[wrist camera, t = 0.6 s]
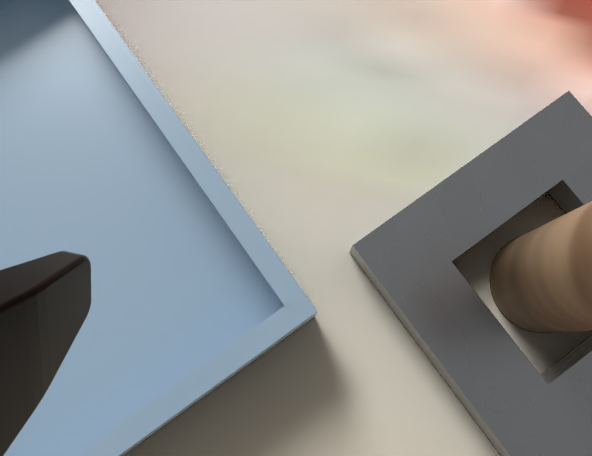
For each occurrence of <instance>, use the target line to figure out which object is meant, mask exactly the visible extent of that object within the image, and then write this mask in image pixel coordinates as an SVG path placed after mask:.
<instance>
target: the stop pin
mask: <svg viewBox="0 0 592 456" xmlns="http://www.w3.org/2000/svg"><path fill="white" fill-rule="evenodd" d="M489 282H490V289H491V294H492V296H493V299H494V301H495V303H496V305H497V307H498V308H499V310H500V311H501V312H502V314H503V315H504V316H505V317H506V318H507V319H508V320H510V321H511V322H512V323H514V324H515V325H517V326H519V327H521V328H523V329H525V330H528V331H532V332H538V333H552V332H573V331H592V201H591V202H589V203H587V204H585V205H583V206H581V207H579V208H577V209H575V210H573V211H571V212H569V213H567V214H565V215H563V216H560V217H558V218H556V219H554V220H552V221H550V222H548V223H546V224H544V225H542V226H540V227H538V228H536V229H534V230H532V231H530V232H528V233H526V234H524V235H522V236H520V237H517V238H515V239H513V240H512V241H510V242H508V243H507V244H506V245H505V246H503V247H502V248H501V250H500V251H499V252H498V253H497V255H496V256H495V258H494V260H493V263H492V266H491V269H490V278H489Z"/></svg>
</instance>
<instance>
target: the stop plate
mask: <svg viewBox="0 0 592 456" xmlns="http://www.w3.org/2000/svg"><path fill="white" fill-rule="evenodd" d="M546 191H547V192H548V193H549V194H550V195H551V196H552V198H553V199H554V200H555V201H556V202H557V204H558V205H559V206H560V207H561V208H562V210H563V211H564V212H565V213H566V214H567V213H569V212H571V211H573V210H575V209H577V208H579V207H581V206H583V205H585V204H587V203H589V202H591V201H592V116H591V115H590V114H589V113H588V112H587V111H586V110H585V109H584V107H583V106H582V105H581V104H580V103H579V102H578V101H577V99H576V98H575V97H574V96H573V95H572V94H571V93H570V92H569V91H568V92H567V93H565V94H564V95H562V96H561V97H560V98H558V99H557V100H555V101H554V102H553V103H551V104H550V105H548V106H547V107H546V108H544V109H543V110H541V111H540V112H539V113H537V114H536V115H534V116H533V117H532V118H530V119H529V120H527V121H526V122H525V123H523V124H522V125H520V126H519V127H518V128H516V129H515V130H513V131H512V132H511V133H509V134H508V135H506V136H505V137H504V138H502V139H501V140H499V141H498V142H497V143H495V144H494V145H492V146H491V147H490V148H488V149H487V150H486V151H484V152H483V153H481V154H480V155H479V156H477V157H476V158H474V159H473V160H472V161H470V162H469V163H467V164H466V165H465V166H463V167H462V168H460V169H459V170H458V171H456V172H455V173H453V174H452V175H451V176H449V177H448V178H446V179H445V180H444V181H442V182H441V183H439V184H438V185H437V186H435V187H434V188H432V189H431V190H430V191H428V192H427V193H425V194H424V195H423V196H421V197H420V198H418V199H417V200H416V201H414V202H413V203H411V204H410V205H409V206H407V207H406V208H404V209H403V210H402V211H400V212H399V213H397V214H396V215H395V216H393V217H392V218H390V219H389V220H388V221H386V222H385V223H383V224H382V225H381V226H379V227H378V228H376V229H375V230H374V231H372V232H371V233H369V234H368V235H367V236H365V237H364V238H362V239H361V240H360V241H358V242H357V243H355V244H354V245H353V246H352V248H351V250H350V251H349V252H350V254H351V255H352V256H353V258H354V259H355V260H356V262H357V263H358V264H359V266H360V267H361V268H362V270H363V271H364V272H365V274H366V275H367V276H368V278H369V279H370V280H371V282H372V283H373V284H374V286H375V287H376V288H377V290H378V291H379V292H380V294H381V295H382V297H383V298H384V299H385V301H386V302H387V303H388V305H389V306H390V307H391V309H392V310H393V311H394V313H395V314H396V315H397V317H398V318H399V319H400V321H401V322H402V323H403V325H404V326H405V327H406V329H407V330H408V331H409V333H410V334H411V335H412V337H413V338H414V339H415V341H416V342H417V344H418V345H419V346H420V348H421V349H422V350H423V352H424V353H425V354H426V356H427V357H428V358H429V360H430V361H431V362H432V364H433V365H434V366H435V368H436V369H437V370H438V372H439V373H440V374H441V376H442V377H443V378H444V380H445V381H446V382H447V384H448V385H449V386H450V388H451V389H452V391H453V392H454V393H455V395H456V396H457V397H458V399H459V400H460V401H461V403H462V404H463V405H464V407H465V408H466V409H467V411H468V412H469V413H470V415H471V416H472V417H473V419H474V420H475V421H476V423H477V424H478V425H479V427H480V428H481V429H482V431H483V432H484V433H485V435H486V436H487V438H488V439H489V440H490V442H491V443H492V444H493V446H494V447H495V448H496V450H497V451H498V452H499V454H500V455H501V456H590V455H591V454H592V335H591V336H590V337H588V338H587V339H586V340H585V341H583V342H582V343H581V344H580V345H578V346H577V347H576V348H574V349H573V350H572V351H571V352H569V353H568V354H567V355H566V356H564V357H563V358H562V359H560V360H559V361H558V362H557V363H555V364H554V365H553V366H552V367H550V368H549V369H548V370H546V371H545V372H544V373H543V374H541V375H540V374H539V373H538V371H537V370H536V369H535V368H534V366H533V365H532V364H531V363H530V361H529V360H528V359H527V357H526V356H525V355H524V354H523V352H522V351H521V350H520V348H519V347H518V346H517V345H516V343H515V342H514V341H513V339H512V338H511V337H510V336H509V334H508V333H507V332H506V331H505V329H504V328H503V327H502V325H501V324H500V323H499V322H498V320H497V319H496V318H495V316H494V315H493V314H492V313H491V311H490V310H489V309H488V307H487V306H486V305H485V304H484V302H483V301H482V300H481V299H480V297H479V296H478V295H477V293H476V292H475V291H474V290H473V288H472V287H471V286H470V284H469V283H468V282H467V281H466V279H465V278H464V277H463V275H462V274H461V273H460V272H459V270H458V269H457V268H456V267H455V265H454V264H453V263H452V261H453V260H454V259H456V258H457V257H458V256H460V255H461V254H463V253H464V252H465V251H467V250H468V249H469V248H471V247H472V246H473V245H475V244H476V243H477V242H479V241H480V240H481V239H483V238H484V237H486V236H487V235H488V234H490V233H491V232H492V231H494V230H495V229H496V228H498V227H499V226H500V225H502V224H503V223H504V222H506V221H507V220H509V219H510V218H511V217H513V216H514V215H515V214H517V213H518V212H519V211H521V210H522V209H523V208H525V207H526V206H528V205H529V204H530V203H532V202H533V201H534V200H536V199H537V198H538V197H540V196H541V195H542V194H544V193H545V192H546Z"/></svg>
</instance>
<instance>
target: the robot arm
mask: <svg viewBox="0 0 592 456" xmlns="http://www.w3.org/2000/svg"><path fill="white" fill-rule="evenodd" d="M90 306H91V263H90V260H89V258H88V257H87V256H85V255H82V254H77V253H72V252H68V251H59V252H56V253H53V254H49V255H46V256H43V257H40V258H37V259H34V260H31V261H27V262H24V263H21V264H18V265H15V266H12V267H8V268H5V269H2V270H0V456H4V454H5V453H6V451H7V450H8V448H9V447H10V446H11V444H12V443H13V441H14V440H15V438H16V437H17V435H18V434H19V432H20V431H21V430H22V428H23V427H24V425H25V424H26V422H27V421H28V419H29V418H30V416H31V415H32V414H33V412H34V411H35V409H36V408H37V406H38V404H39V403H40V401H41V400H42V398H43V397H44V395H45V393H46V392H47V390H48V388H49V386H50V385H51V383H52V381H53V379H54V377H55V375H56V373H57V372H58V370H59V368H60V366H61V364H62V362H63V360H64V358H65V357H66V355H67V353H68V351H69V349H70V347H71V345H72V343H73V342H74V340H75V338H76V336H77V334H78V332H79V330H80V328H81V327H82V325H83V323H84V321H85V319H86V317H87V315H88V313H89V310H90Z"/></svg>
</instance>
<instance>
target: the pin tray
mask: <svg viewBox="0 0 592 456" xmlns="http://www.w3.org/2000/svg"><path fill="white" fill-rule="evenodd" d="M59 251H68V252H72V253H77V254H82V255H85V256H87V257H88V258H89V260H90V263H91V306H90V310H89V313H88V315H87V317H86V319H85V321H84V323H83V325H82V327H81V328H80V330H79V332H78V334H77V336H76V338H75V340H74V342H73V343H72V345H71V347H70V349H69V351H68V353H67V355H66V357H65V358H64V360H63V362H62V364H61V366H60V368H59V370H58V372H57V373H56V375H55V377H54V379H53V381H52V383H51V385H50V386H49V388H48V390H47V392H46V393H45V395H44V397H43V398H42V400H41V401H40V403H39V404H38V406H37V408H36V409H35V411H34V412H33V414H32V415H31V416H30V418H29V419H28V421H27V422H26V424H25V425H24V427H23V428H22V430H21V431H20V432H19V434H18V435H17V437H16V438H15V440H14V441H13V443H12V444H11V446H10V447H9V448H8V450H7V451H6V453H5V454H4V456H123V455H125V454H126V453H127V452H129V451H130V450H132V449H133V448H134V447H136V446H137V445H139V444H140V443H141V442H143V441H144V440H145V439H147V438H148V437H150V436H151V435H152V434H154V433H155V432H156V431H158V430H159V429H161V428H162V427H163V426H165V425H166V424H167V423H169V422H170V421H172V420H173V419H174V418H176V417H177V416H178V415H180V414H181V413H183V412H184V411H185V410H187V409H188V408H189V407H191V406H192V405H194V404H195V403H196V402H198V401H199V400H200V399H202V398H203V397H205V396H206V395H207V394H209V393H210V392H211V391H213V390H214V389H216V388H217V387H218V386H220V385H221V384H222V383H224V382H225V381H227V380H228V379H229V378H231V377H232V376H233V375H235V374H236V373H238V372H239V371H240V370H242V369H243V368H244V367H246V366H247V365H249V364H250V363H251V362H253V361H254V360H255V359H257V358H258V357H260V356H261V355H262V354H264V353H265V352H266V351H268V350H269V349H271V348H272V347H273V346H275V345H276V344H278V343H279V342H280V341H282V340H283V339H284V338H286V337H287V336H289V335H290V334H291V333H293V332H294V331H295V330H297V329H298V328H300V327H301V326H302V325H304V324H305V323H306V322H308V321H309V320H311V319H312V318H313V317H315V315H316V313H317V310H316V309H315V307H314V306H313V304H312V303H311V302H310V300H309V299H308V297H307V296H306V295H305V293H304V292H303V290H302V289H301V288H300V286H299V285H298V283H297V282H296V281H295V279H294V278H293V276H292V275H291V274H290V272H289V271H288V269H287V268H286V267H285V265H284V264H283V262H282V261H281V260H280V258H279V257H278V255H277V254H276V253H275V251H274V250H273V248H272V247H271V246H270V244H269V243H268V242H267V240H266V239H265V237H264V236H263V235H262V233H261V232H260V230H259V229H258V228H257V226H256V225H255V223H254V222H253V221H252V219H251V218H250V216H249V215H248V214H247V212H246V211H245V209H244V208H243V207H242V205H241V204H240V202H239V201H238V200H237V198H236V197H235V195H234V194H233V193H232V191H231V190H230V188H229V187H228V186H227V184H226V183H225V181H224V180H223V179H222V177H221V176H220V174H219V173H218V172H217V170H216V169H215V168H214V166H213V165H212V163H211V162H210V161H209V159H208V158H207V156H206V155H205V154H204V152H203V151H202V149H201V148H200V147H199V145H198V144H197V142H196V141H195V140H194V138H193V137H192V135H191V134H190V133H189V131H188V130H187V128H186V127H185V126H184V124H183V123H182V121H181V120H180V119H179V117H178V116H177V114H176V113H175V112H174V110H173V109H172V107H171V106H170V105H169V103H168V102H167V100H166V99H165V98H164V96H163V95H162V94H161V92H160V91H159V89H158V88H157V87H156V85H155V84H154V82H153V81H152V80H151V78H150V77H149V75H148V74H147V73H146V71H145V70H144V68H143V67H142V66H141V64H140V63H139V61H138V60H137V59H136V57H135V56H134V54H133V53H132V52H131V50H130V49H129V47H128V46H127V45H126V43H125V42H124V40H123V39H122V38H121V36H120V35H119V33H118V32H117V31H116V29H115V28H114V26H113V25H112V24H111V22H110V21H109V20H108V18H107V17H106V15H105V14H104V13H103V11H102V10H101V8H100V7H99V6H98V4H97V3H96V1H95V0H0V270H2V269H5V268H8V267H12V266H15V265H18V264H21V263H24V262H27V261H31V260H34V259H37V258H40V257H43V256H46V255H49V254H53V253H56V252H59Z"/></svg>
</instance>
